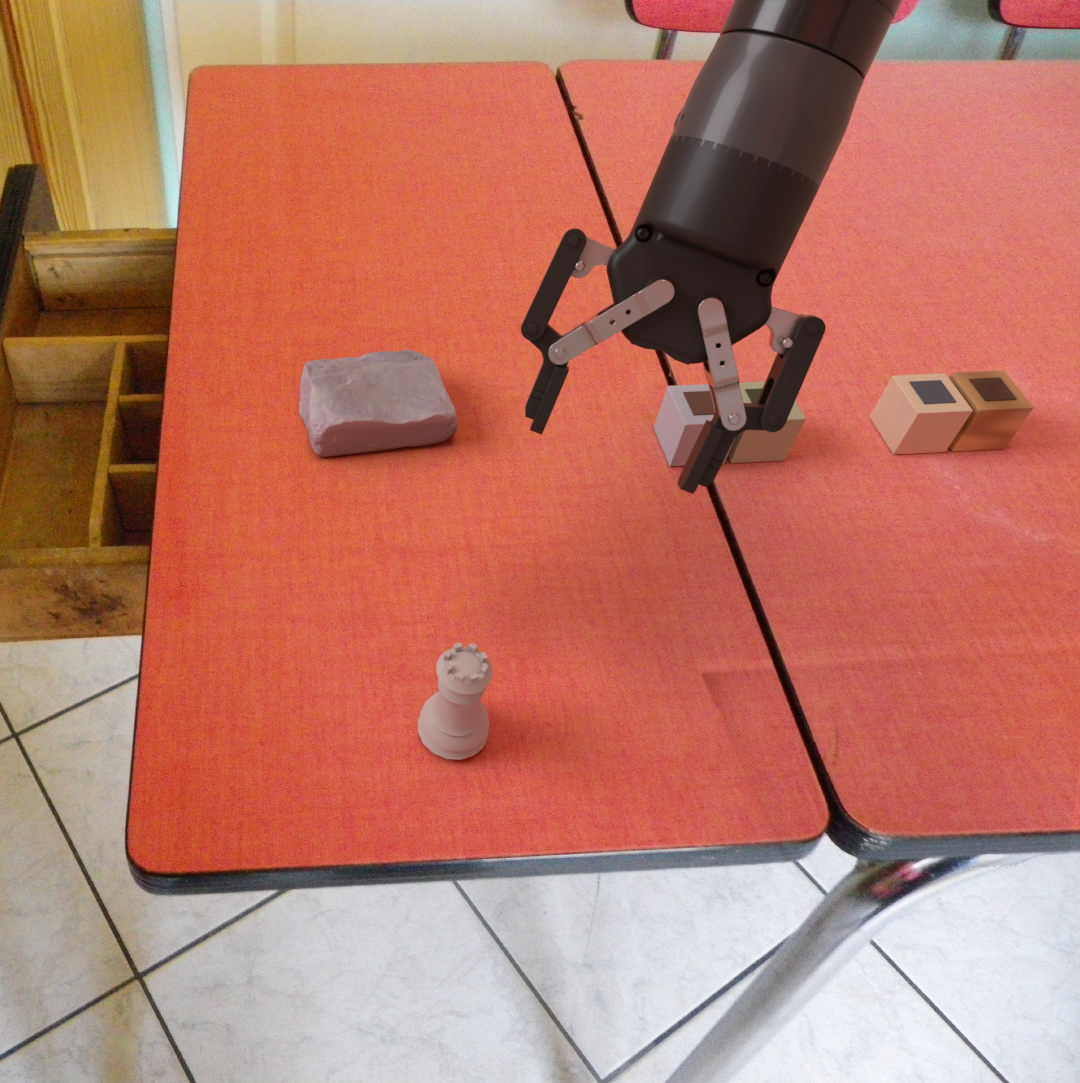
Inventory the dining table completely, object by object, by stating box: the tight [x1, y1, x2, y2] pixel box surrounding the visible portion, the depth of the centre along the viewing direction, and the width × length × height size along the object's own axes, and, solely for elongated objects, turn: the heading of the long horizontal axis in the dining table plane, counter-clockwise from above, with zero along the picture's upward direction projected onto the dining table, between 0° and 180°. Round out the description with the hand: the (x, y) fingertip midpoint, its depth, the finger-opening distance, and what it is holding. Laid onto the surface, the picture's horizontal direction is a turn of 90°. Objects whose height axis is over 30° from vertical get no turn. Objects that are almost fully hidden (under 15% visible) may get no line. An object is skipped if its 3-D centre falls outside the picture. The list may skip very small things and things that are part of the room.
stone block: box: [298, 349, 458, 458], centre depth 80 cm, size 12×5×10 cm
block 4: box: [948, 369, 1034, 452], centre depth 80 cm, size 4×4×5 cm
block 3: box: [869, 372, 973, 456], centre depth 79 cm, size 4×4×5 cm
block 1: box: [653, 383, 736, 467], centre depth 78 cm, size 4×4×5 cm
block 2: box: [727, 380, 806, 464], centre depth 78 cm, size 4×4×5 cm
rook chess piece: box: [417, 642, 494, 761], centre depth 59 cm, size 4×4×8 cm
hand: (610, 459), depth 54 cm, fingers open, 8 cm apart
